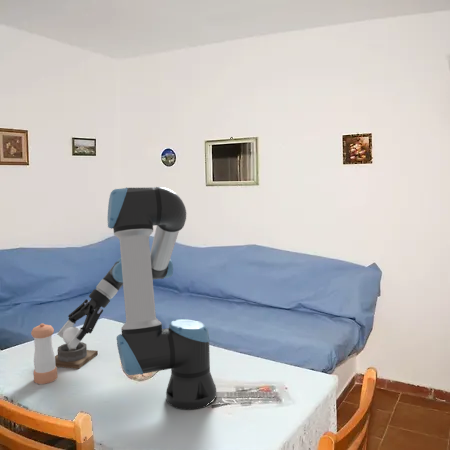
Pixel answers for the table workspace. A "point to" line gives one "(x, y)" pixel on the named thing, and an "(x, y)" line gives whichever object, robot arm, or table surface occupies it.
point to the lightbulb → (70, 336)
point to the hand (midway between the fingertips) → (65, 341)
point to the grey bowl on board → (74, 356)
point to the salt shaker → (44, 354)
